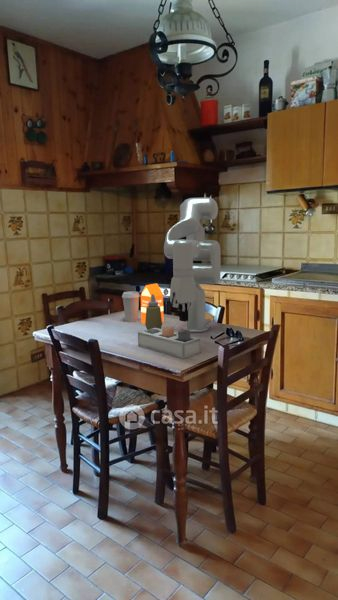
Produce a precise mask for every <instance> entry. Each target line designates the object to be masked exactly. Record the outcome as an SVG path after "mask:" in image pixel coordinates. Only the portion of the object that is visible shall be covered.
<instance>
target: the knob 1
mask: <svg viewBox="0 0 338 600" xmlns="http://www.w3.org/2000/svg"><path fill="white" fill-rule="evenodd" d="M146 330H147V329H146ZM158 332H159V330H158V329H149V330H147V333H151V334H155V333H158Z"/></svg>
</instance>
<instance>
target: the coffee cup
mask: <svg viewBox="0 0 338 600" xmlns="http://www.w3.org/2000/svg"><path fill="white" fill-rule="evenodd" d="M121 298H122V302H123V311H124V318H125V322H127V323H135V322H138V321H139V308H140V307H139V306H140V305H139V304H140V303H139V302H140V298H141V294H140V293H139V291H135V290H134V291H133V290H132V291H123V293H122V295H121Z"/></svg>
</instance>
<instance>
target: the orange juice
mask: <svg viewBox="0 0 338 600" xmlns="http://www.w3.org/2000/svg"><path fill="white" fill-rule="evenodd" d="M152 294H154V296H155V300H156V301H157V302H158V306H159V307H160V310H161V318H162V323H164V322H165V321H164V319H165V318H164V316H165V315H164V293H163V292H162V290H161V287H160V286H159V284H158V283H151V284H146V285H145V286H144V288H143V290H142V292H141V294H140V313H141V314H140V316H141V317H140V318H141V324H143V325H145V321H146V308H147V307H148V302H150V301H151V295H152Z"/></svg>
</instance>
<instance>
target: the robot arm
mask: <svg viewBox="0 0 338 600" xmlns="http://www.w3.org/2000/svg"><path fill="white" fill-rule="evenodd" d="M179 212H180V213H179V214H180V216H179V221H178V222H176V223H175V224H174V225H173V226H171V227H170V229H169V228H168V230H167V232H166V235H165V239H164V245H163V253H164V256H165V257H166V258H167V259H171V260H172V264H173V265H172V268H173V269H172V272H173V277H171V282H170V288H169V302H170V304H172V307H173V308H177V311H179V312H178V313H179V316H178V319H179V321H181V322H185V325H183V326H182V328H181V329H182V330H188V331H190V333H203V332H207V331H208V330H209V329H210V328H209V327H210V326H209V325H207V324H209V323H211V322H212V319H211V318H206V292H205V290H204V288H203V287H202V286H201V285H215V284H218V283H219V282H220V281H221V267H222V266H221V259H222V258H221V246H220V243H219V241H217V240H214V239H205V228H204V227H203V225H202V223H201V222H200V221H203V220H209V221H210V220H216V218H217V217H218V213H219V206H218V203H217V202H216V200H215V199H214V198H212V197H189V198H187V199H184V201H183V202H182V203H180V205H179ZM185 237H186V239H184V238H185ZM182 238H183V239H182ZM194 261H196V262H197V261H199V262H200V261H201V263H199V262H197V263H194ZM202 261H203V262H204V261H208V262H210V263H205V262H204V263H203V262H202Z"/></svg>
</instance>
